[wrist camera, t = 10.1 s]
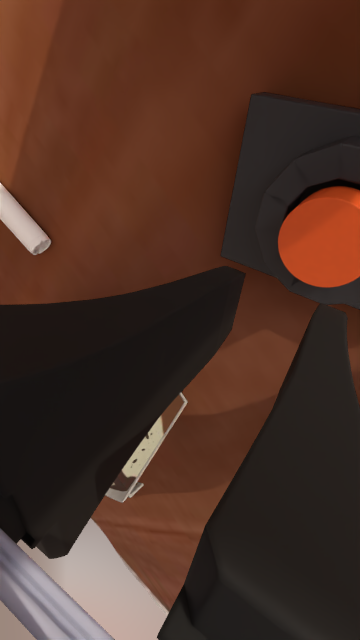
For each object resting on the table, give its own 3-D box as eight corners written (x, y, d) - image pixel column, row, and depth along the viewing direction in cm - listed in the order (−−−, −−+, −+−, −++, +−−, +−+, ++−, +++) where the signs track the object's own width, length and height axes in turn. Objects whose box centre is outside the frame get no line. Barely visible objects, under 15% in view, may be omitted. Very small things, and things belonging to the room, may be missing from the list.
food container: (89, 319, 34) (-3, 382, 27) (124, 302, 29) (25, 373, 23) (154, 416, 36) (86, 497, 30) (195, 414, 32) (126, 508, 25)
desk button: (402, 200, 13) (396, 214, 11) (360, 282, 15) (352, 301, 14) (306, 175, 14) (292, 185, 13) (281, 254, 16) (267, 269, 15)
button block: (557, 144, 12) (584, 162, 10) (429, 320, 17) (425, 361, 15) (263, 91, 16) (230, 96, 14) (231, 247, 21) (202, 270, 19)
